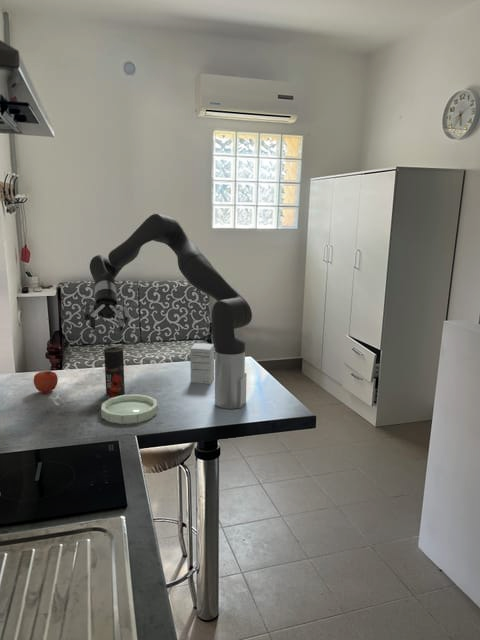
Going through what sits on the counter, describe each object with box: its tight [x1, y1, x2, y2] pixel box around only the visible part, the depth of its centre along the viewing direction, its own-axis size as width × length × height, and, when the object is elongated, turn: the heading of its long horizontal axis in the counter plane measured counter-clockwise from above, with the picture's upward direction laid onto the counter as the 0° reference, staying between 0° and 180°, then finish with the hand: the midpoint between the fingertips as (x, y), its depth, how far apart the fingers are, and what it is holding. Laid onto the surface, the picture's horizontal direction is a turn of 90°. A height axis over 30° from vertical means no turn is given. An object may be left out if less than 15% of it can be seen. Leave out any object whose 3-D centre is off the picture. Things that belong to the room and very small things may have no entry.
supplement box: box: [189, 342, 215, 385], centre depth 172 cm, size 7×7×13 cm
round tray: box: [100, 393, 158, 425], centre depth 144 cm, size 16×16×2 cm
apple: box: [33, 368, 59, 395], centre depth 159 cm, size 7×7×8 cm
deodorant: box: [103, 346, 126, 398], centre depth 157 cm, size 6×6×15 cm
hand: (107, 328), depth 159 cm, fingers open, 8 cm apart
